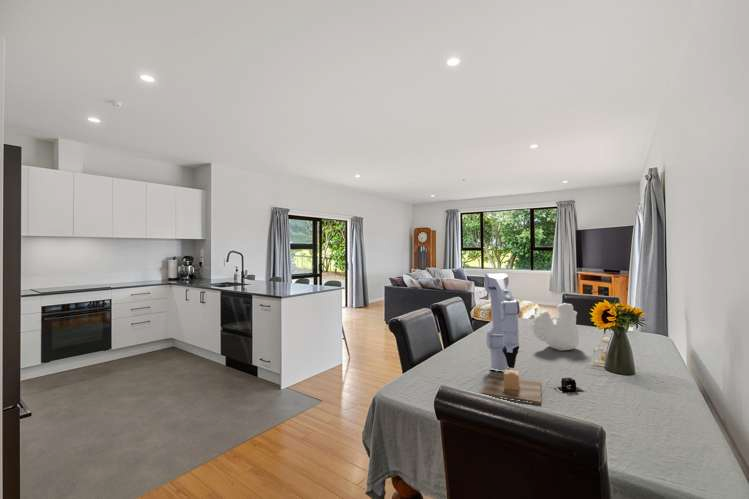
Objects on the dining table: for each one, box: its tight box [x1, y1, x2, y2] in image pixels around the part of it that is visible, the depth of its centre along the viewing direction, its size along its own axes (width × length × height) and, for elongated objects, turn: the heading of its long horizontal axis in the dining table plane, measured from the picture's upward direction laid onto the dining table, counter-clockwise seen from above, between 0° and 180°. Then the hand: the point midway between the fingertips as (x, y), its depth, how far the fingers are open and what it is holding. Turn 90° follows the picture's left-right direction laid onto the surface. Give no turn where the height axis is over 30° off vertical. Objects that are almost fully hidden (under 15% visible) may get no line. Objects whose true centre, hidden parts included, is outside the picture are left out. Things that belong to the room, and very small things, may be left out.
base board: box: [481, 374, 542, 406], centre depth 131 cm, size 20×20×1 cm
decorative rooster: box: [530, 302, 580, 351], centre depth 182 cm, size 25×16×25 cm, turn 81°
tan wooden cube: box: [503, 369, 520, 390], centre depth 131 cm, size 5×5×6 cm
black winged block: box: [556, 377, 586, 394], centre depth 130 cm, size 12×7×5 cm, turn 95°
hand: (511, 365), depth 131 cm, fingers open, 4 cm apart
